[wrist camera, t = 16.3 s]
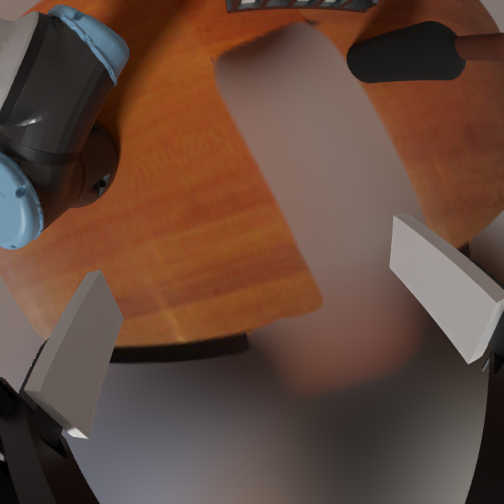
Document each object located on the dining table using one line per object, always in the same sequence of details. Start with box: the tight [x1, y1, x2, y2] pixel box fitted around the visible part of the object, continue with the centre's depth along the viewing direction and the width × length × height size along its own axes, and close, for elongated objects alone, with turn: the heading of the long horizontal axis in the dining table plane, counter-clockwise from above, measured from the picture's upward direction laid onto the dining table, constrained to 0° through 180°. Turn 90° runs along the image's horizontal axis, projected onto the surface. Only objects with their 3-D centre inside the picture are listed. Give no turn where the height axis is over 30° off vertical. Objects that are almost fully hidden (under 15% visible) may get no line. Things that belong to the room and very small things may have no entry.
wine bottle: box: [347, 21, 504, 83], centre depth 24 cm, size 8×8×30 cm
